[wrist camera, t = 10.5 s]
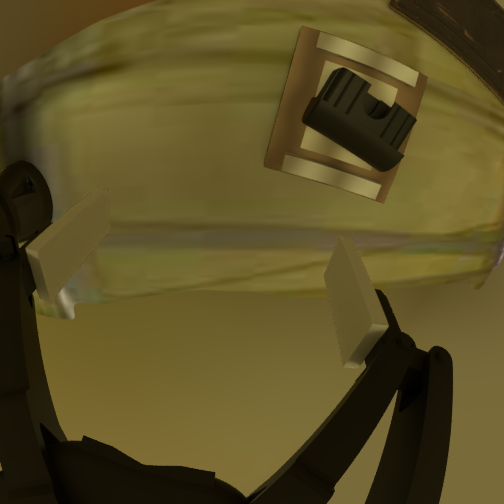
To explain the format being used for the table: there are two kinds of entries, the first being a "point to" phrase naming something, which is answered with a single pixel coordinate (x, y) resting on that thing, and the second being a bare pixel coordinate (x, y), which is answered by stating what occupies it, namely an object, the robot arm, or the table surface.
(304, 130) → the display riser
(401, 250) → the table surface
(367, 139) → the black notched block
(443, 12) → the hardcover book
